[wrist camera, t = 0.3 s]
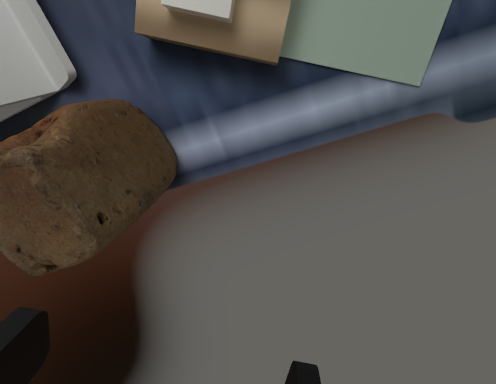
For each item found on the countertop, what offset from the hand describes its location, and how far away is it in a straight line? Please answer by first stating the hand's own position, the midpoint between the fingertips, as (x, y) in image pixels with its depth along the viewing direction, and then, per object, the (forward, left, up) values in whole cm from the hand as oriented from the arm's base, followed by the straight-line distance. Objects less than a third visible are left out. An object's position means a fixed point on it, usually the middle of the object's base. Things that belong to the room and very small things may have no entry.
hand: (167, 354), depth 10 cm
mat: (-19, +10, -28) cm, 35 cm away
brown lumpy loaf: (+1, -12, -28) cm, 31 cm away
